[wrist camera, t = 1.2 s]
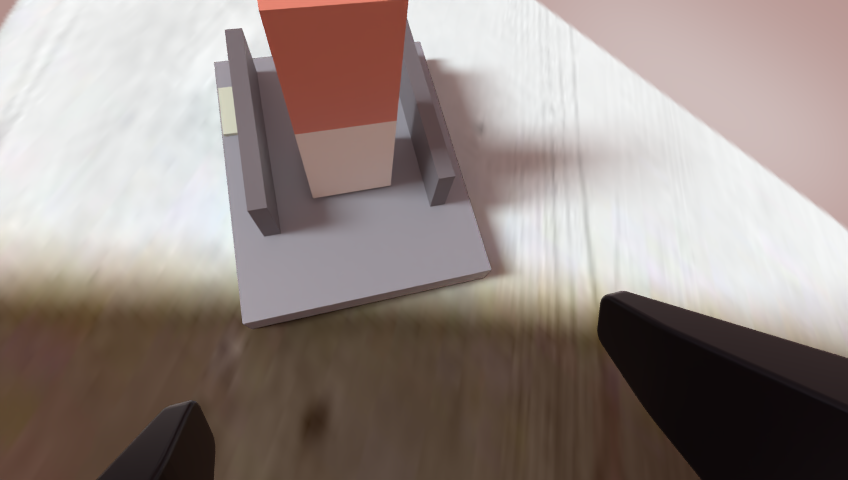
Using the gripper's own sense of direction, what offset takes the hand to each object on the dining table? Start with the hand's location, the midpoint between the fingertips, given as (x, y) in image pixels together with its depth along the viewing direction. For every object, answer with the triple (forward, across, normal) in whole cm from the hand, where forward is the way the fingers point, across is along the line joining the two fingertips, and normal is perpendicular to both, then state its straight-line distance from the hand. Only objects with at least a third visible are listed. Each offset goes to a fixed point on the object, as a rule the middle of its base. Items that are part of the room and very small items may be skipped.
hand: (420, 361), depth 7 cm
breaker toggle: (+16, 0, +1) cm, 16 cm away
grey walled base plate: (+18, 0, +2) cm, 18 cm away
